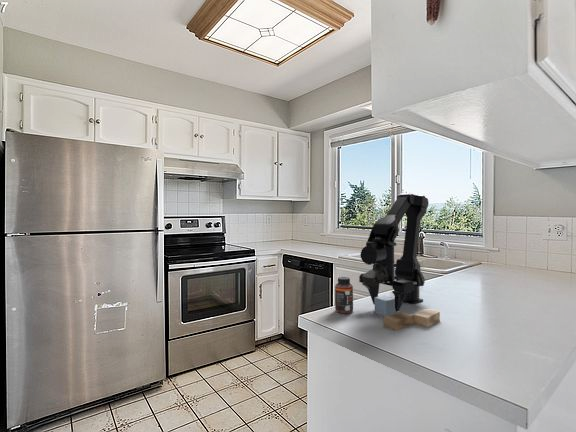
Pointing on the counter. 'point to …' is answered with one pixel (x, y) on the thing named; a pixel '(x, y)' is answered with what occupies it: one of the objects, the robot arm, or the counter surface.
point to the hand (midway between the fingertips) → (385, 307)
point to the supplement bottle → (343, 295)
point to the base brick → (398, 320)
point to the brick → (426, 317)
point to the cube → (384, 305)
